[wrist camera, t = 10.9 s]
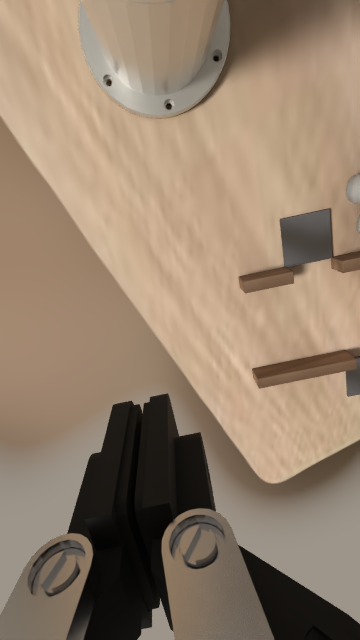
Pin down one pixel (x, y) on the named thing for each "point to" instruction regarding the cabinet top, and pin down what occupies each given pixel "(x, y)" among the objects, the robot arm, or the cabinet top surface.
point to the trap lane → (298, 248)
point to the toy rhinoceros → (354, 193)
